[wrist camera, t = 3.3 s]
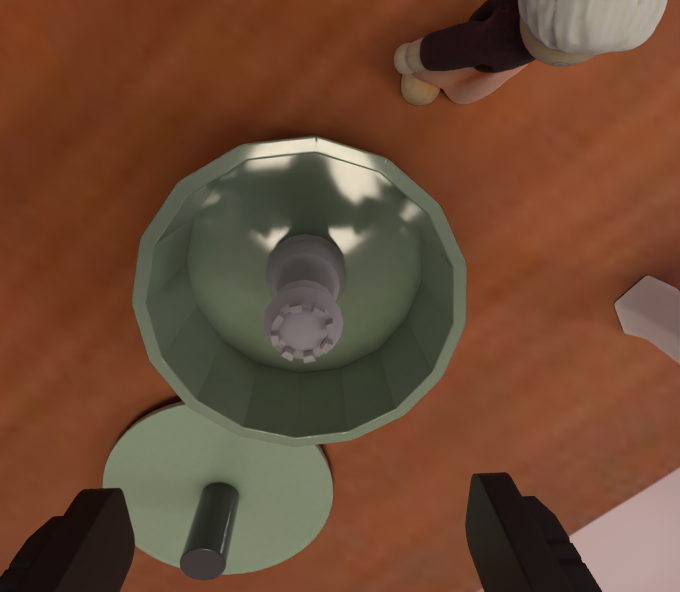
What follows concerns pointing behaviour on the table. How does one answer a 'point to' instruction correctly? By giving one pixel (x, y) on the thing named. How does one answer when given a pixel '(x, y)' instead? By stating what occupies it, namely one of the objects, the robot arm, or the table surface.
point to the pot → (253, 298)
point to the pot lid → (217, 493)
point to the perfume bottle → (652, 314)
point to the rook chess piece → (304, 297)
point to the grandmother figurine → (519, 43)
